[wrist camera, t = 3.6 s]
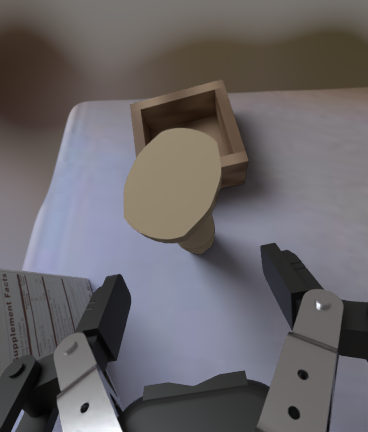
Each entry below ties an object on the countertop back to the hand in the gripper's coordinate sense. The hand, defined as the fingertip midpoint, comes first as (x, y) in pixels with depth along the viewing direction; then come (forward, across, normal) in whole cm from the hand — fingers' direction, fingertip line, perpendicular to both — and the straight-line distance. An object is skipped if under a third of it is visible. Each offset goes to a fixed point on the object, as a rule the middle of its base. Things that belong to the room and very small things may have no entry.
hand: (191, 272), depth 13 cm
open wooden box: (+20, -1, -3) cm, 20 cm away
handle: (+12, 0, +6) cm, 13 cm away
